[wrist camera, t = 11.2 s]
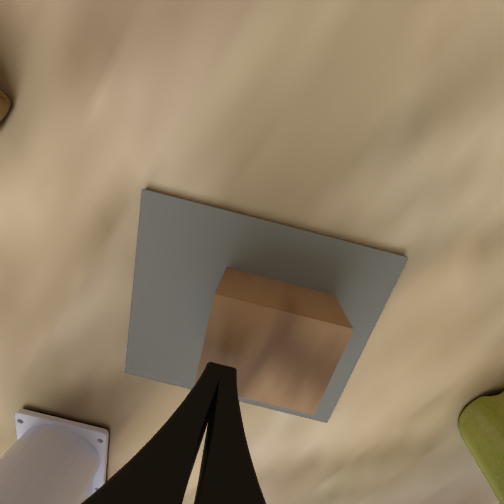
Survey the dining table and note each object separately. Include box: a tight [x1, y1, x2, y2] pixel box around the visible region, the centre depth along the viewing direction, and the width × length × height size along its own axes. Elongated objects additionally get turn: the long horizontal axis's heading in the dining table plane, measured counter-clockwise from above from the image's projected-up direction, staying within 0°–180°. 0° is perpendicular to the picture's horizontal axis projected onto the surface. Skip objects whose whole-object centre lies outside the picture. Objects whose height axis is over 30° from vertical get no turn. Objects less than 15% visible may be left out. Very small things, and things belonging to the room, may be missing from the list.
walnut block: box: [194, 267, 354, 415], centre depth 14 cm, size 6×4×7 cm
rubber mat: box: [125, 189, 408, 423], centre depth 16 cm, size 14×16×1 cm
